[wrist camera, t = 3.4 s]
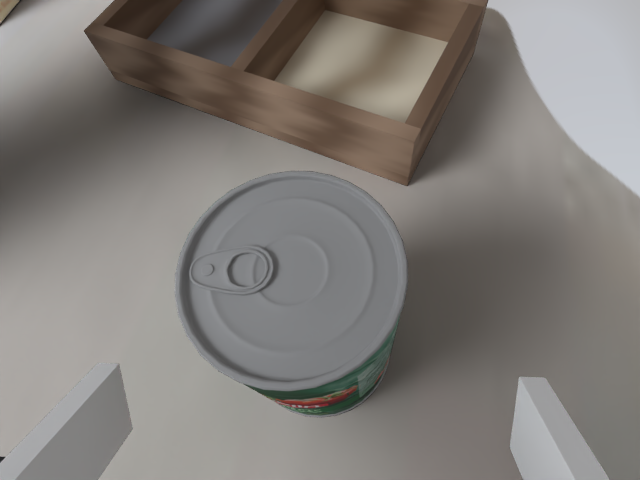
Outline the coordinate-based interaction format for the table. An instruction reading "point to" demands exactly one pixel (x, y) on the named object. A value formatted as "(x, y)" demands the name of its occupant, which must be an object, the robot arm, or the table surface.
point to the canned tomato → (295, 290)
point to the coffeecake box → (6, 7)
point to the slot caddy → (303, 67)
